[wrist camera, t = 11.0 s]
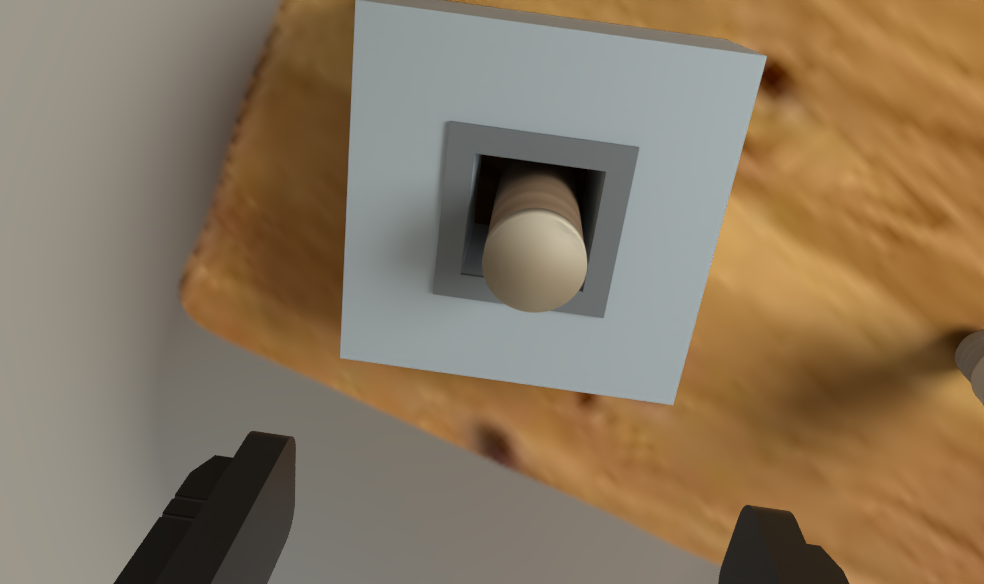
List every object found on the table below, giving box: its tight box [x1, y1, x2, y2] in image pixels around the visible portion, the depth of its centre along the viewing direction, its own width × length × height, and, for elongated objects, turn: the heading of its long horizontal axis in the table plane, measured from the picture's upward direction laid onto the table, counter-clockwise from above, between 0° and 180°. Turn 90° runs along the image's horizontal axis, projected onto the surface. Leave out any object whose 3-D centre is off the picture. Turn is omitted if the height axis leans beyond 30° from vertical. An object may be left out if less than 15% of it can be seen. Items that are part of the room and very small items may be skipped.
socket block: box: [340, 0, 767, 405], centre depth 30 cm, size 14×14×6 cm
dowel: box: [482, 158, 587, 313], centre depth 29 cm, size 3×4×10 cm
